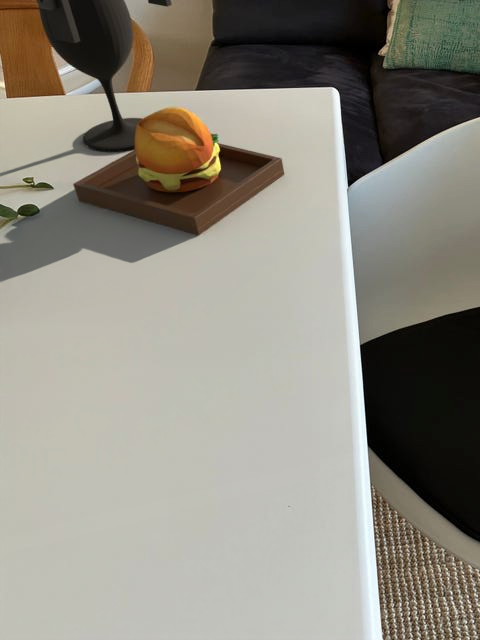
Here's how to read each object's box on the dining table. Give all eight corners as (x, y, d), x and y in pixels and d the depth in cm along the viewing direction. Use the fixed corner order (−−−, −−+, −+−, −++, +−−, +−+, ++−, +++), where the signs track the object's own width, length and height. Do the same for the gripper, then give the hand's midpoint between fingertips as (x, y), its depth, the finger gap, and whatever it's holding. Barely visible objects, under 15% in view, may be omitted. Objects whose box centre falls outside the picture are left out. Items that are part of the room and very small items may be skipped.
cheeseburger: (221, 152, 103) (208, 87, 95) (233, 206, 98) (219, 142, 90) (140, 162, 101) (120, 96, 93) (147, 218, 95) (126, 153, 87)
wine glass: (85, 157, 104) (30, -1, 91) (81, 127, 111) (29, -24, 98) (166, 144, 107) (123, -11, 94) (156, 115, 115) (116, -32, 102)
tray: (78, 200, 95) (72, 183, 94) (172, 146, 107) (168, 130, 105) (199, 235, 90) (194, 218, 88) (284, 174, 101) (281, 158, 99)
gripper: (-41, -209, 61) (51, 64, 75) (177, -229, 78) (218, -5, 92) (-108, -215, 63) (-6, 51, 77) (119, -234, 80) (168, -14, 94)
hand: (116, 21), depth 84 cm, fingers open, 13 cm apart
